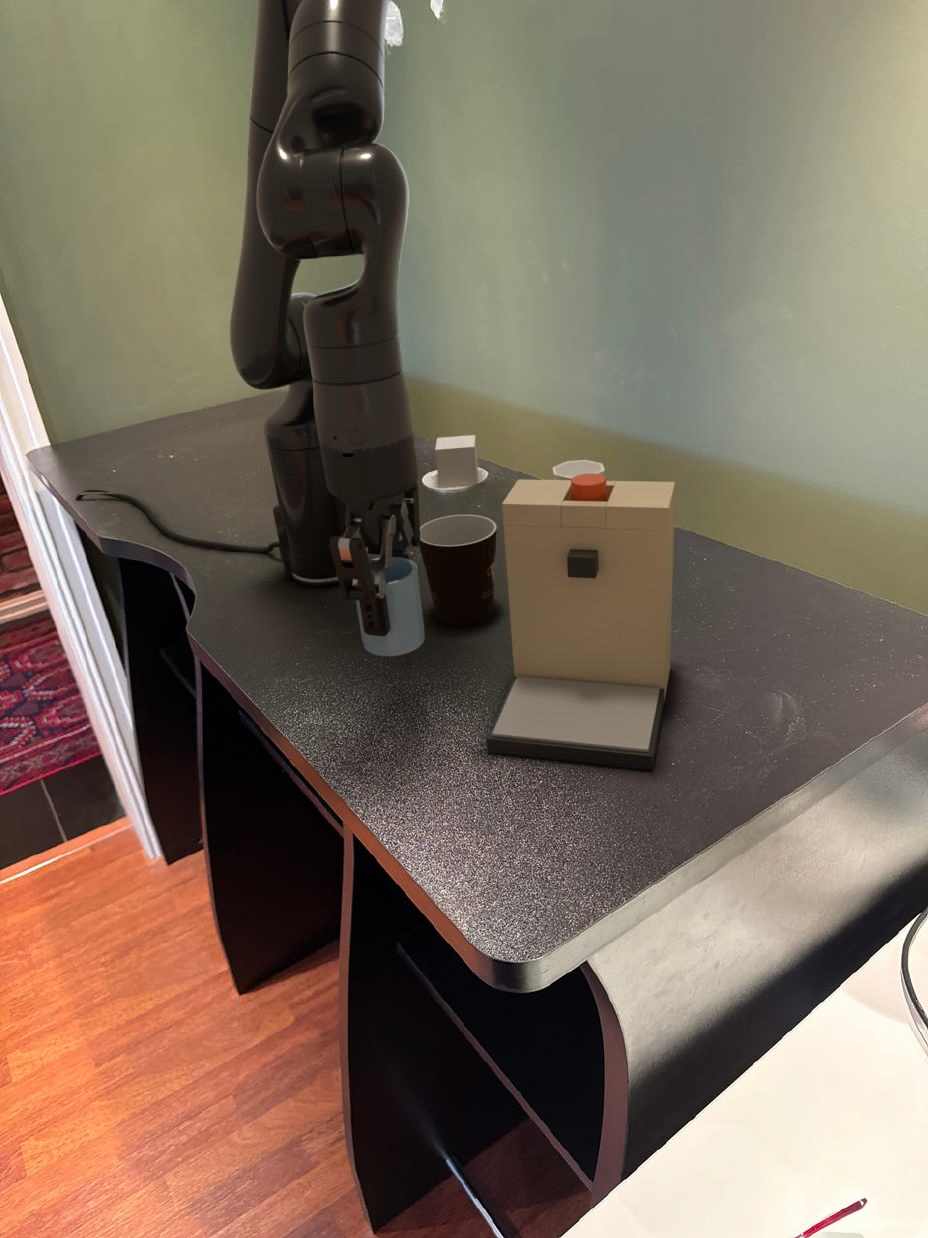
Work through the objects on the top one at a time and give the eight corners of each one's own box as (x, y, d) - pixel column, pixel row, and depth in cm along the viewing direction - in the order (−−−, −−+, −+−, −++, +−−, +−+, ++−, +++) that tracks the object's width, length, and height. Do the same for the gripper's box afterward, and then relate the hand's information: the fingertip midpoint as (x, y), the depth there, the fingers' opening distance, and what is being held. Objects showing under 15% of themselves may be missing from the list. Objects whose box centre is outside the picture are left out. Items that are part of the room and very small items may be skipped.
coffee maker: (487, 752, 76) (468, 552, 67) (529, 657, 90) (518, 479, 81) (652, 770, 72) (655, 560, 63) (670, 668, 86) (675, 481, 76)
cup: (616, 528, 116) (616, 470, 112) (548, 546, 113) (545, 486, 109) (590, 512, 122) (589, 455, 118) (524, 527, 119) (521, 470, 115)
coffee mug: (477, 636, 94) (469, 551, 89) (411, 621, 98) (400, 539, 94) (529, 590, 103) (524, 510, 98) (466, 578, 107) (458, 501, 102)
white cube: (441, 474, 142) (437, 437, 139) (478, 471, 141) (475, 434, 138) (438, 487, 136) (434, 449, 133) (477, 484, 136) (474, 446, 133)
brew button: (568, 509, 76) (568, 484, 75) (575, 496, 78) (574, 472, 77) (603, 510, 75) (603, 485, 74) (609, 497, 77) (608, 473, 76)
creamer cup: (353, 653, 78) (341, 582, 75) (377, 622, 83) (367, 554, 79) (412, 659, 76) (403, 587, 73) (433, 627, 81) (425, 558, 78)
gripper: (357, 404, 77) (381, 577, 85) (281, 459, 65) (317, 654, 73) (438, 405, 75) (455, 582, 83) (374, 462, 63) (401, 662, 71)
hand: (390, 615), depth 78 cm, fingers closed on creamer cup, 5 cm apart
